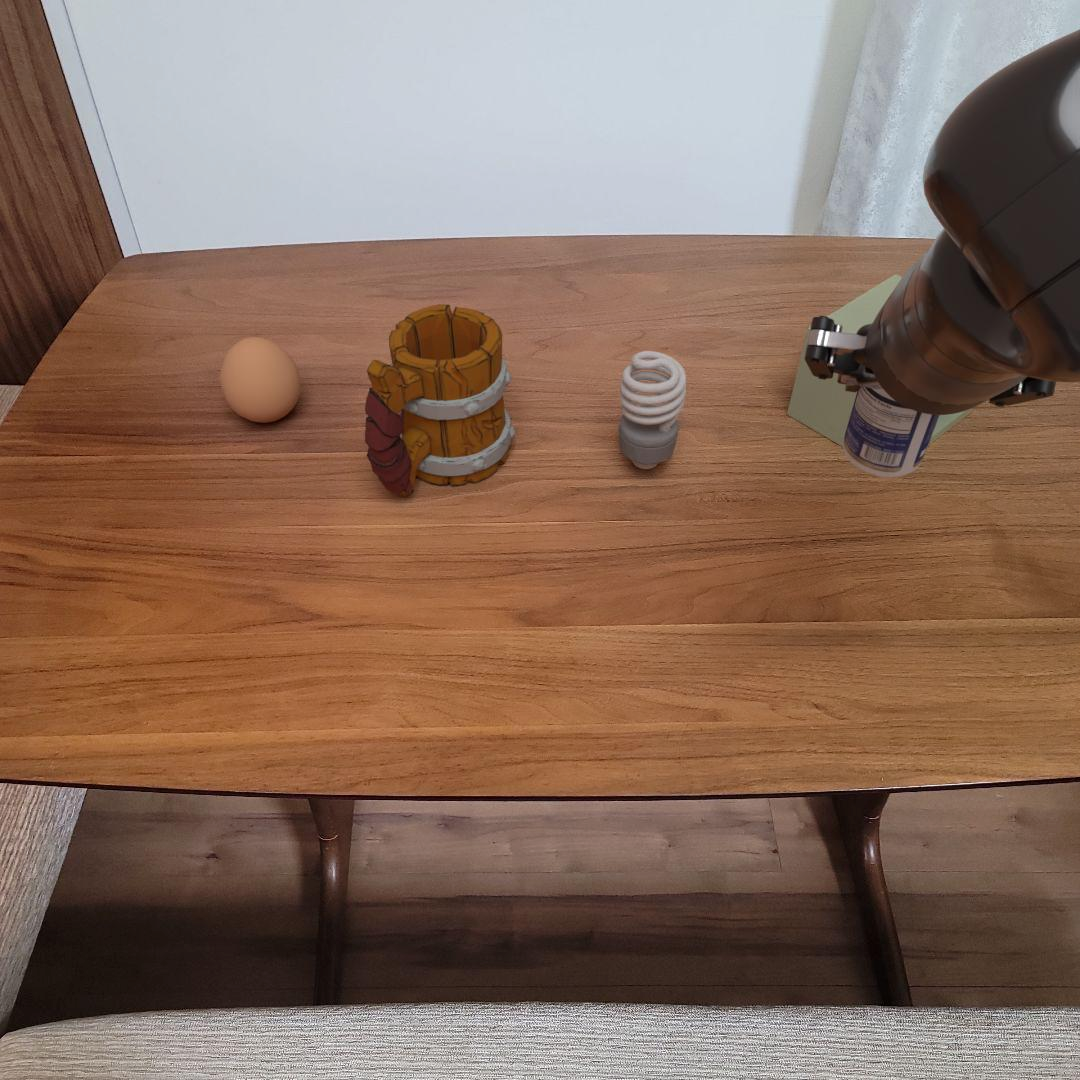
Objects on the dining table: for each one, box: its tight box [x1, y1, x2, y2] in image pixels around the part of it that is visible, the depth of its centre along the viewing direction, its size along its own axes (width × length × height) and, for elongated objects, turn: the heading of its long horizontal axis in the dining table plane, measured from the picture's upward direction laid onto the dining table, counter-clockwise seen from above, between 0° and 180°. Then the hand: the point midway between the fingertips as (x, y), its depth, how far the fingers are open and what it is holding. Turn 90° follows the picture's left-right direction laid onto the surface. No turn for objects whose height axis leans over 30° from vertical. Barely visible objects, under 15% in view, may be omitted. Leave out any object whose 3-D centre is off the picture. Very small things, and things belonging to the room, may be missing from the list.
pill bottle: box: [842, 386, 939, 478], centre depth 61 cm, size 5×5×10 cm
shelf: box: [786, 273, 975, 448], centre depth 88 cm, size 12×14×10 cm
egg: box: [219, 336, 302, 424], centre depth 88 cm, size 7×7×8 cm
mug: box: [364, 303, 516, 497], centre depth 81 cm, size 11×16×15 cm, turn 147°
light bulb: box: [618, 350, 687, 470], centre depth 82 cm, size 6×6×12 cm
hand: (899, 383), depth 62 cm, fingers closed on pill bottle, 5 cm apart
